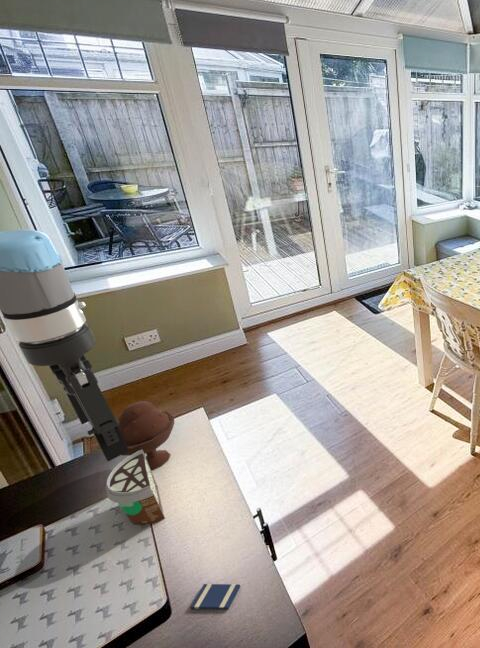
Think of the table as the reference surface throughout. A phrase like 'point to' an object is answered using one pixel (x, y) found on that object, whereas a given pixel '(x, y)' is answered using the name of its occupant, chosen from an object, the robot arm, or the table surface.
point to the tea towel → (215, 596)
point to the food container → (135, 490)
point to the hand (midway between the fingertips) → (104, 436)
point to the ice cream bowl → (146, 431)
